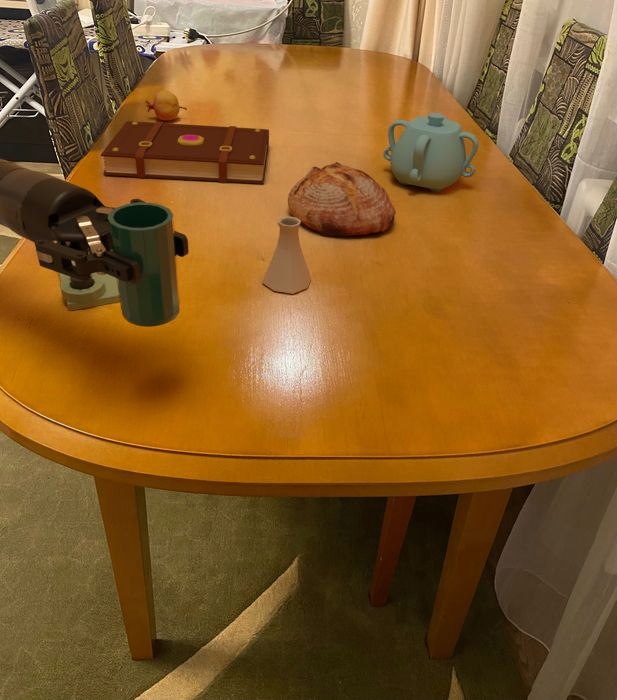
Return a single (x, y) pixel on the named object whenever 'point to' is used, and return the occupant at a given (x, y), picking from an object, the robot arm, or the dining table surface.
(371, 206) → the bread
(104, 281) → the scale
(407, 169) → the decorative pot
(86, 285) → the tare button
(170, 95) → the fruit
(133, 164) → the book
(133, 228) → the cup
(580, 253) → the dining table surface
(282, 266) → the flask
